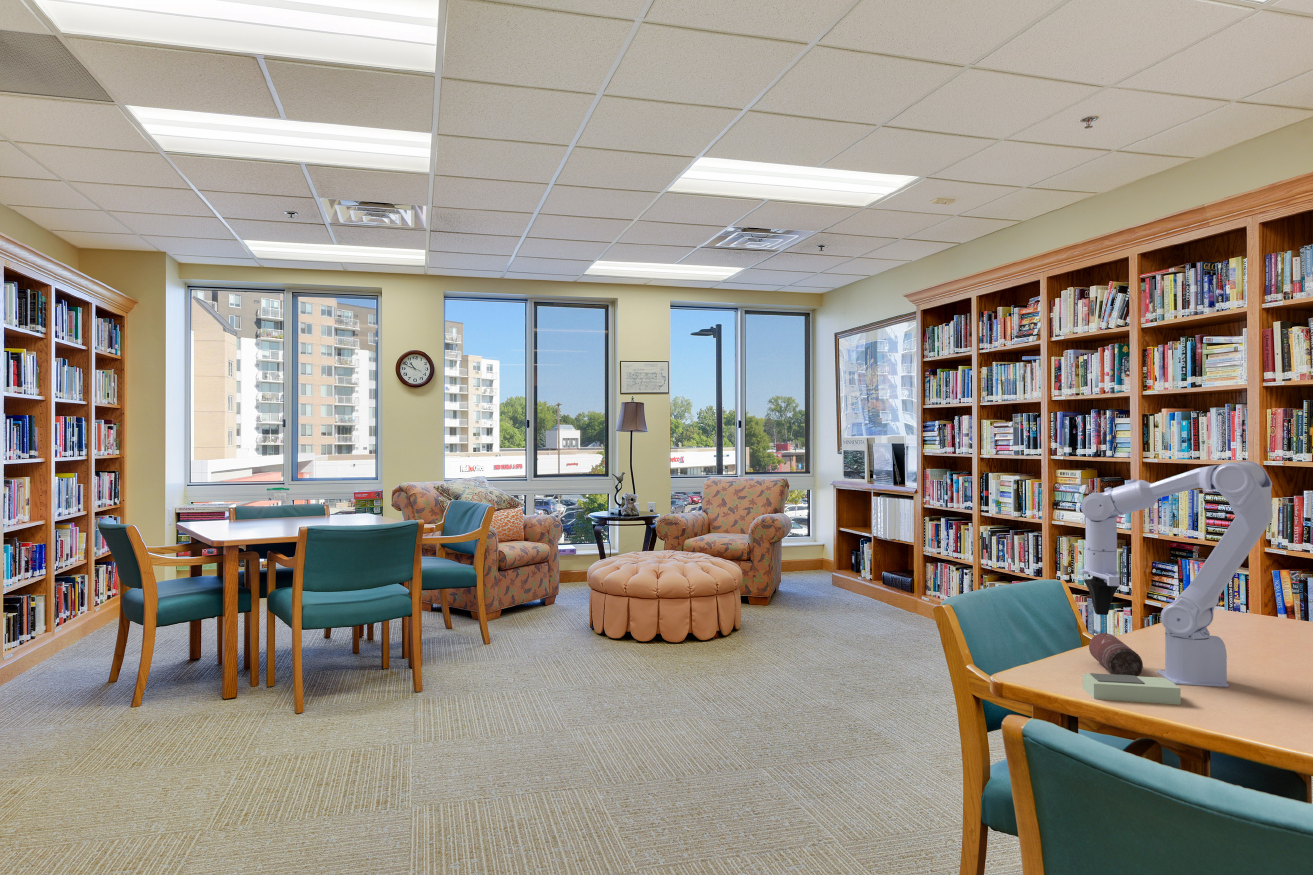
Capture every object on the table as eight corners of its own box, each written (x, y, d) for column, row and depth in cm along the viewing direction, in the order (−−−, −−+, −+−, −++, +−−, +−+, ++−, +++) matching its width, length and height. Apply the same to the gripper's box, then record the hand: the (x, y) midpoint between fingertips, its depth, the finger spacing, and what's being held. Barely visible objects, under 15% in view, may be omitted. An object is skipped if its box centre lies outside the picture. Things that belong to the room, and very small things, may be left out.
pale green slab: (1165, 693, 143) (1164, 676, 143) (1180, 705, 137) (1180, 686, 137) (1082, 688, 146) (1082, 671, 146) (1093, 700, 140) (1093, 682, 140)
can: (1152, 670, 150) (1126, 650, 163) (1129, 643, 151) (1105, 626, 164) (1124, 688, 151) (1101, 667, 164) (1102, 661, 152) (1081, 642, 165)
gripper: (1069, 544, 172) (1069, 605, 172) (1092, 554, 158) (1092, 621, 158) (1104, 545, 170) (1104, 607, 170) (1130, 555, 156) (1131, 622, 156)
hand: (1101, 614), depth 164 cm, fingers closed
